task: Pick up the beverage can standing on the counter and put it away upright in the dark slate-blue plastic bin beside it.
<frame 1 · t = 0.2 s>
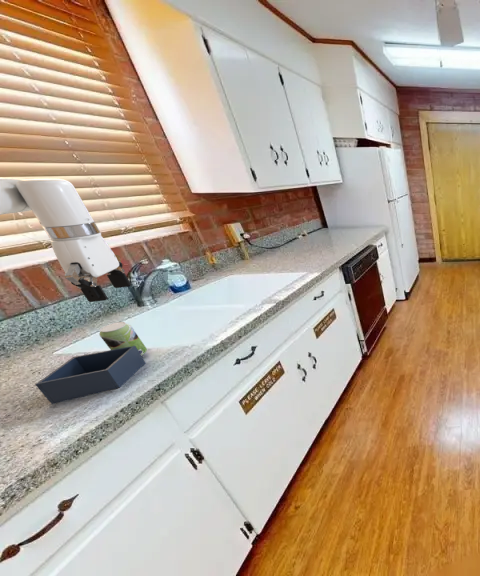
hand: (111, 293, 80), 24 cm above the countertop, tool pointing down, fingers open, 9 cm apart
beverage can: (134, 357, 92), on the countertop
bin: (103, 382, 82), on the countertop
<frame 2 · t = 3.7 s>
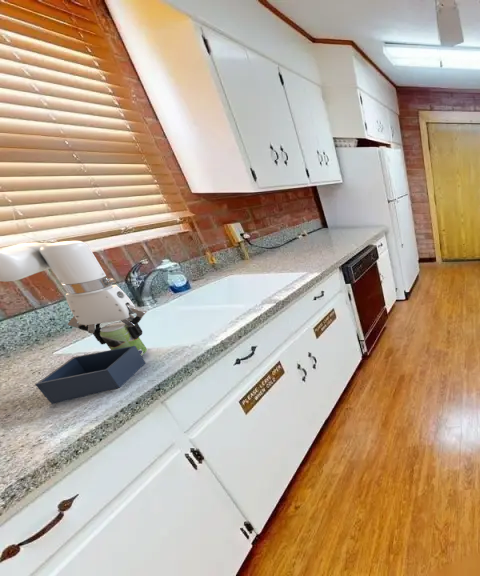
hand: (122, 338, 89), 7 cm above the countertop, tool pointing down, fingers closed on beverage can, 6 cm apart
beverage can: (134, 357, 92), on the countertop, touching gripper
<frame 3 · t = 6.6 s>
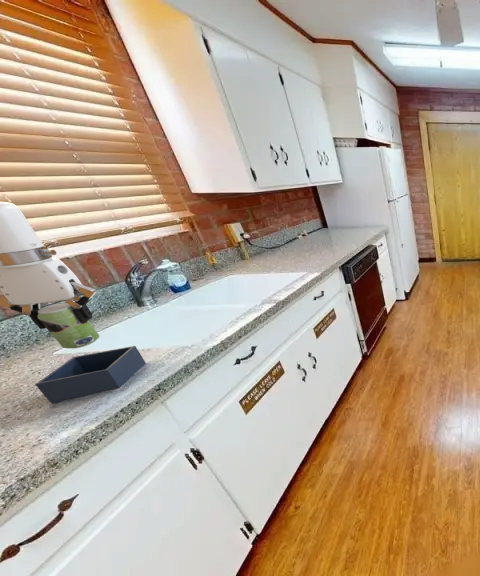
hand: (67, 322, 76), 19 cm above the countertop, tool pointing down, fingers closed on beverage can, 6 cm apart
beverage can: (83, 345, 79), point 11 cm above the countertop, touching gripper
when the fingers open (8 cm above the countertop, at t = 9.8 s): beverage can stays where it is, resting on bin.
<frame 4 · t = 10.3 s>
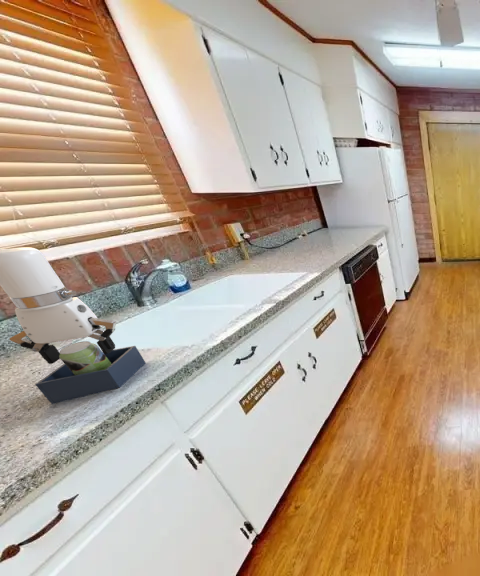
hand: (83, 355, 78), 9 cm above the countertop, tool pointing down, fingers open, 9 cm apart
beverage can: (102, 381, 82), resting on bin
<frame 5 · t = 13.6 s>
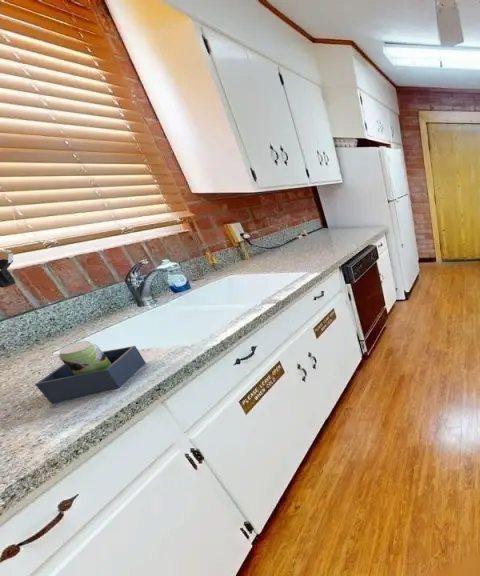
nothing on the countertop moved.
at the end: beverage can inside the target area in the bin (0.1 cm from its centre), point 0.4 cm above the bin's base; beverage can tilted 3°; the gripper is holding nothing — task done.
